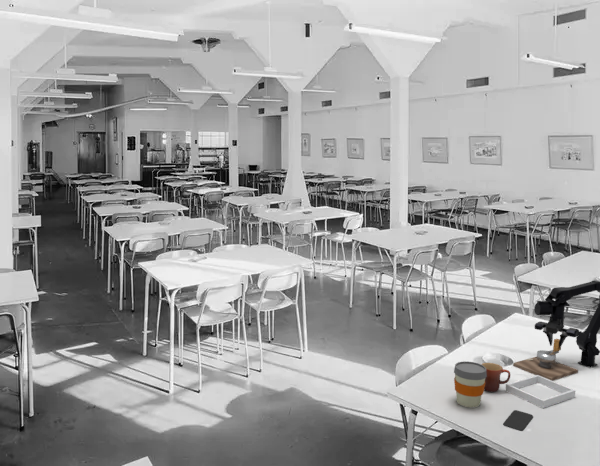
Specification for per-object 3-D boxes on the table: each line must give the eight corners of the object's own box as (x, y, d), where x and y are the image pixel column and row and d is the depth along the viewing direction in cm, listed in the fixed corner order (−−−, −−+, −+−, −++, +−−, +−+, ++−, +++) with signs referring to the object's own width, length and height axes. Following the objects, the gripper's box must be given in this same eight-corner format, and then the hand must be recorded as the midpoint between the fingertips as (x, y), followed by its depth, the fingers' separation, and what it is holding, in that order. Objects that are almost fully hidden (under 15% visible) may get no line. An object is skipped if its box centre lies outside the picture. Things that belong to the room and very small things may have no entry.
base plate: (539, 358, 270) (540, 349, 270) (577, 372, 253) (578, 363, 252) (513, 365, 260) (513, 356, 259) (550, 381, 243) (551, 371, 242)
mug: (479, 391, 231) (480, 368, 229) (479, 383, 239) (481, 361, 238) (509, 396, 227) (511, 373, 225) (508, 388, 235) (510, 365, 234)
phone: (501, 424, 203) (514, 409, 214) (501, 426, 203) (514, 411, 215) (522, 430, 198) (534, 415, 210) (522, 432, 198) (533, 417, 210)
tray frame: (536, 381, 243) (537, 374, 242) (574, 397, 228) (575, 390, 227) (505, 390, 232) (505, 384, 232) (542, 408, 217) (543, 401, 216)
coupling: (549, 352, 265) (551, 336, 264) (565, 357, 258) (567, 341, 257) (533, 358, 257) (534, 342, 256) (549, 364, 250) (550, 347, 249)
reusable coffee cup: (480, 412, 212) (482, 376, 210) (448, 404, 219) (450, 368, 217) (487, 400, 223) (490, 365, 221) (457, 392, 229) (459, 358, 227)
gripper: (530, 314, 260) (529, 345, 262) (572, 322, 247) (570, 355, 249) (540, 309, 267) (538, 340, 269) (580, 317, 255) (578, 349, 256)
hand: (555, 346), depth 261 cm, fingers open, 4 cm apart
